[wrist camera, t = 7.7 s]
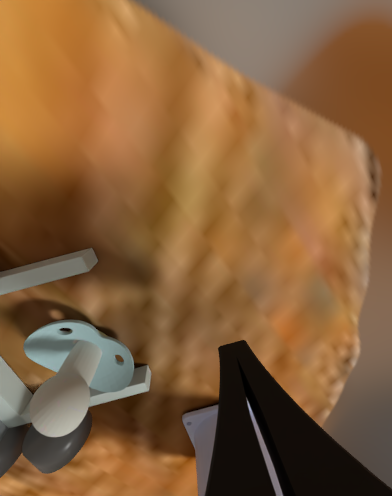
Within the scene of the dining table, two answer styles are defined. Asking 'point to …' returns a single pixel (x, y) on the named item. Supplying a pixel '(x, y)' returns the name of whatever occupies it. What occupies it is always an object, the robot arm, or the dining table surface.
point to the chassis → (19, 397)
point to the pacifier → (73, 372)
